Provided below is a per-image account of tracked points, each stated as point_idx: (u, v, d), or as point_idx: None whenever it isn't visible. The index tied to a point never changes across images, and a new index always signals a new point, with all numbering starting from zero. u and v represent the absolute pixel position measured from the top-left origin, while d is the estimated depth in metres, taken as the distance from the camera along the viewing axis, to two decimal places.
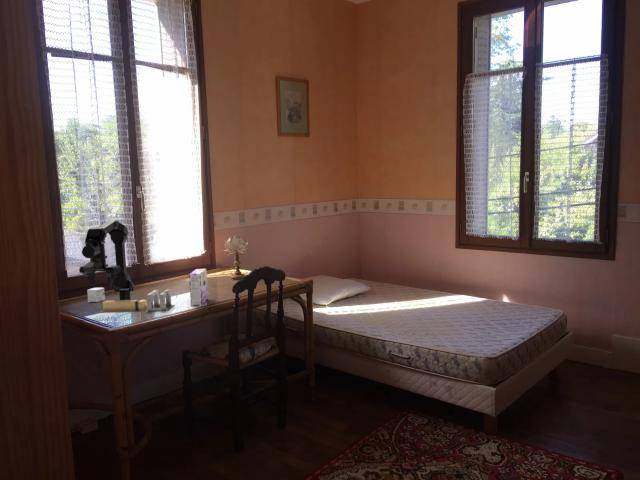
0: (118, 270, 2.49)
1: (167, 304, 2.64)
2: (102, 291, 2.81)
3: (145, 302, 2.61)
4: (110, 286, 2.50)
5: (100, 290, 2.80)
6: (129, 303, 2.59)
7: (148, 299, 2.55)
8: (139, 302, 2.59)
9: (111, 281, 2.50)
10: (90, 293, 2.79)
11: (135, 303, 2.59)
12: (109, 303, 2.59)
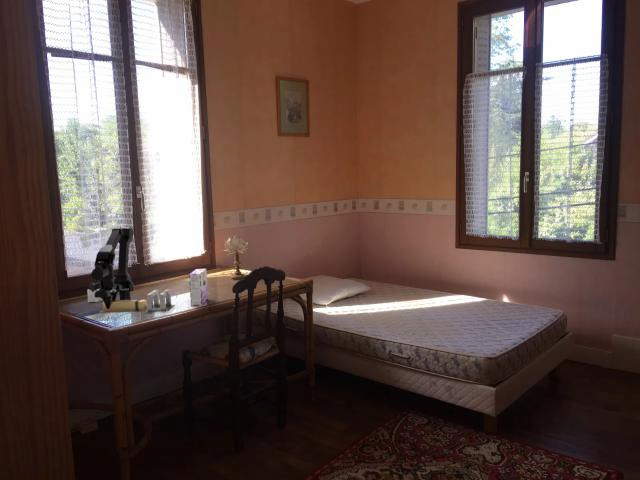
0: (102, 295, 2.51)
1: (167, 304, 2.64)
2: None
3: (145, 302, 2.61)
4: (107, 307, 2.59)
5: None
6: (129, 303, 2.59)
7: (148, 299, 2.55)
8: (139, 302, 2.59)
9: (106, 303, 2.58)
10: (90, 293, 2.79)
11: (135, 303, 2.59)
12: None
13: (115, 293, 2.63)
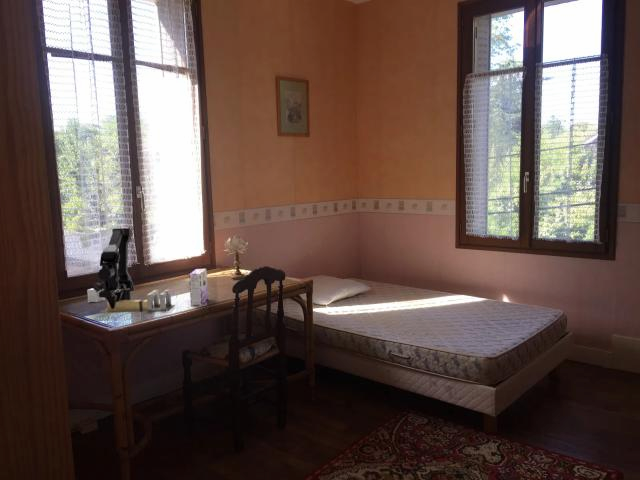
0: (106, 295, 2.51)
1: (167, 304, 2.64)
2: None
3: None
4: (111, 307, 2.59)
5: (100, 290, 2.80)
6: (133, 303, 2.59)
7: (148, 299, 2.55)
8: (143, 302, 2.59)
9: (111, 303, 2.58)
10: (90, 293, 2.79)
11: (139, 303, 2.59)
12: None
13: (119, 293, 2.63)
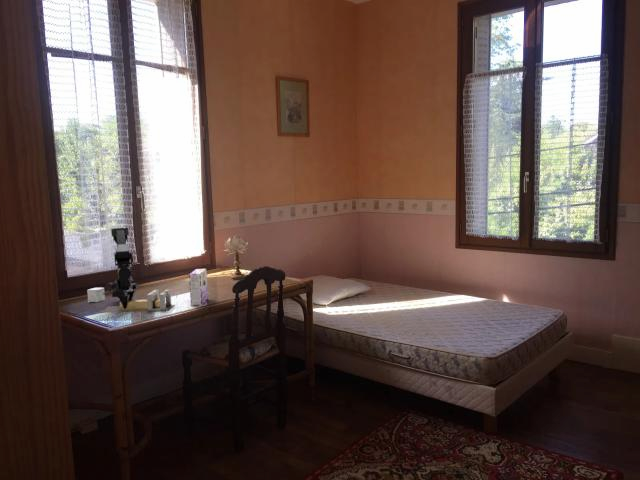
0: (119, 295, 2.51)
1: (167, 304, 2.64)
2: (102, 291, 2.81)
3: None
4: (124, 307, 2.59)
5: (100, 290, 2.80)
6: (146, 303, 2.58)
7: (148, 299, 2.55)
8: (156, 302, 2.58)
9: (123, 303, 2.58)
10: (90, 293, 2.79)
11: None
12: None
13: (132, 293, 2.63)
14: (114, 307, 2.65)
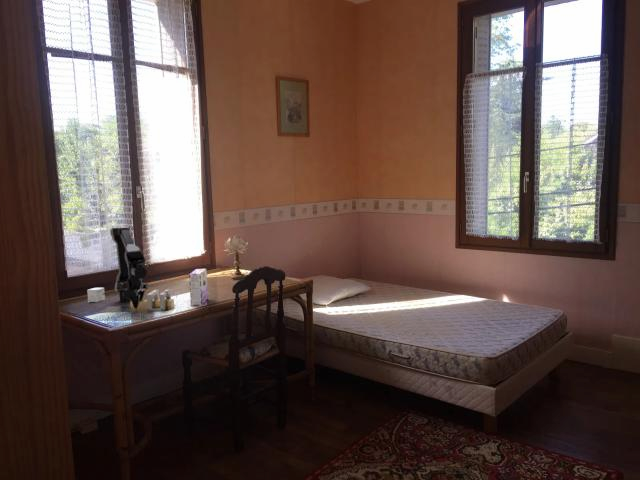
0: (130, 295, 2.51)
1: None
2: (102, 291, 2.82)
3: (172, 301, 2.61)
4: (135, 307, 2.59)
5: (100, 290, 2.80)
6: (156, 302, 2.59)
7: (148, 299, 2.55)
8: (167, 301, 2.58)
9: (134, 302, 2.58)
10: (90, 293, 2.79)
11: None
12: None
13: (142, 292, 2.63)
14: (114, 307, 2.65)
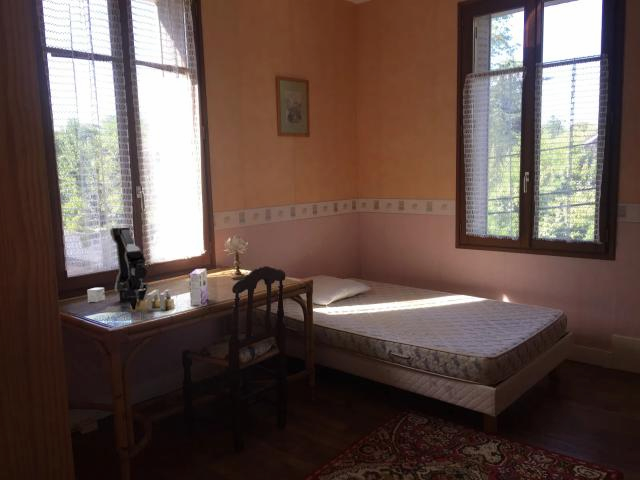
0: (130, 295, 2.51)
1: None
2: (102, 291, 2.81)
3: (172, 301, 2.61)
4: (133, 308, 2.56)
5: (100, 290, 2.80)
6: (157, 302, 2.59)
7: (148, 299, 2.55)
8: (167, 301, 2.58)
9: (132, 304, 2.55)
10: (90, 293, 2.79)
11: None
12: None
13: (144, 291, 2.65)
14: (114, 307, 2.65)
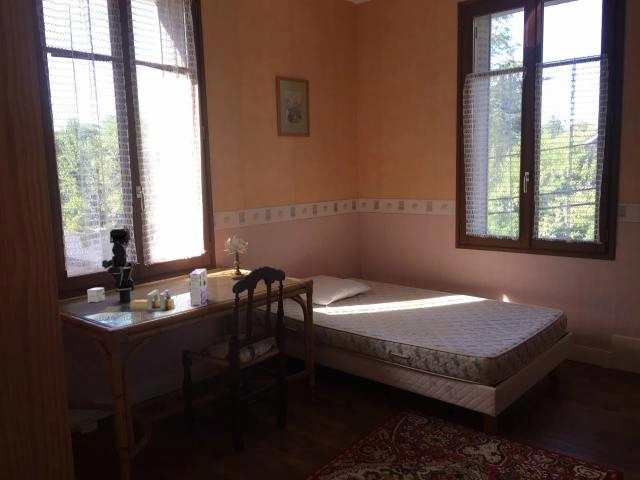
0: (115, 271, 2.56)
1: None
2: (102, 291, 2.81)
3: (172, 301, 2.61)
4: (118, 285, 2.61)
5: (100, 290, 2.80)
6: (157, 302, 2.59)
7: (148, 299, 2.55)
8: (167, 301, 2.58)
9: (117, 280, 2.60)
10: (90, 293, 2.79)
11: None
12: (136, 302, 2.59)
13: (129, 269, 2.70)
14: (114, 307, 2.65)
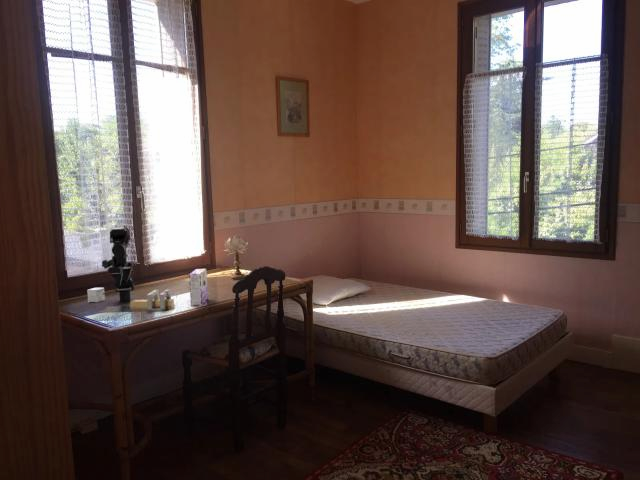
0: (115, 271, 2.56)
1: None
2: (102, 291, 2.81)
3: (172, 301, 2.61)
4: (118, 285, 2.61)
5: (100, 290, 2.80)
6: (157, 302, 2.59)
7: (148, 299, 2.55)
8: (167, 301, 2.58)
9: (117, 280, 2.60)
10: (90, 293, 2.79)
11: None
12: (136, 302, 2.59)
13: (129, 269, 2.70)
14: (114, 307, 2.65)
